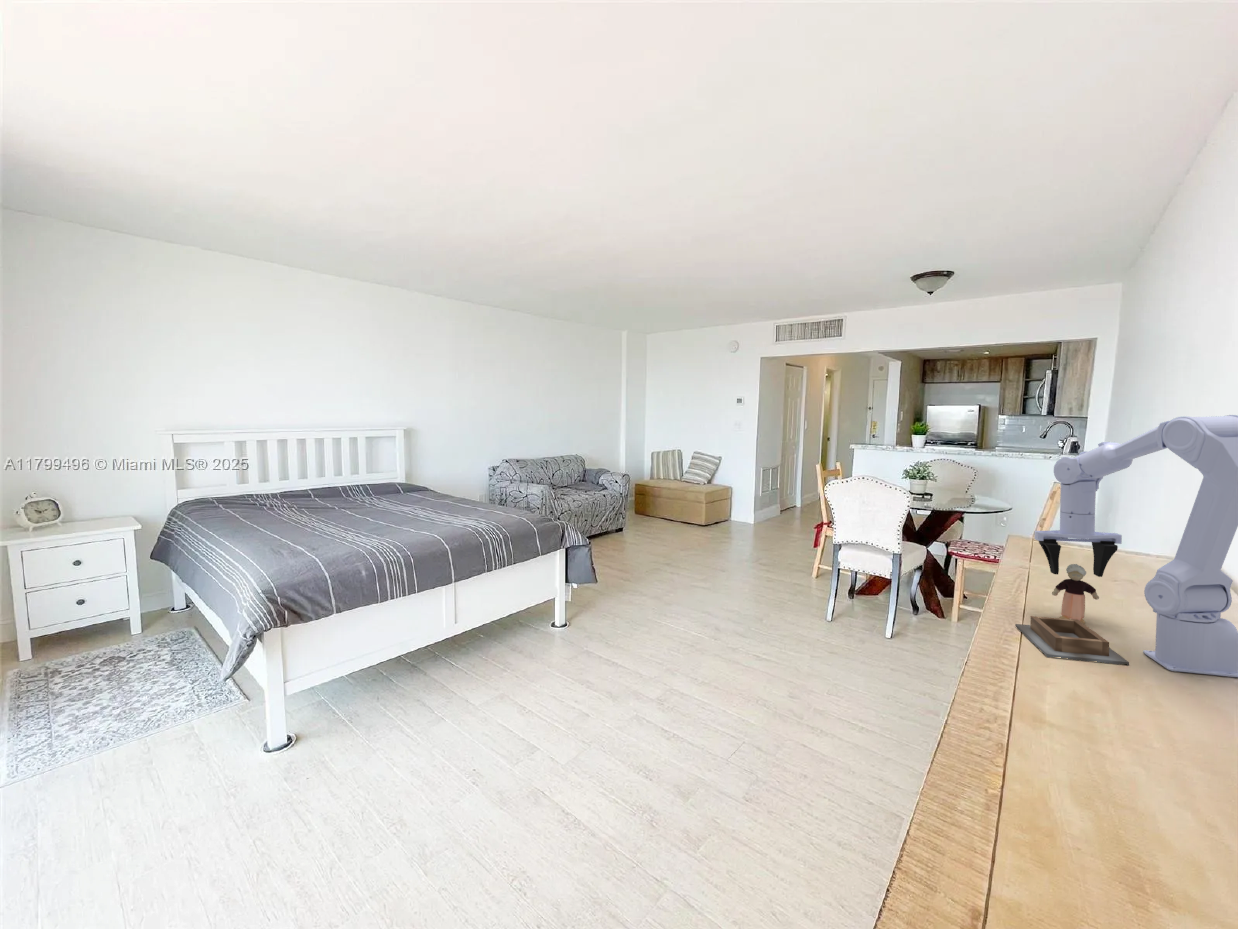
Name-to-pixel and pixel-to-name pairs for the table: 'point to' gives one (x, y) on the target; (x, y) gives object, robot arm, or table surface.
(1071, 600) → the grandmother figurine
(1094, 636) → the wooden tray
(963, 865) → the table surface
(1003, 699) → the table surface
